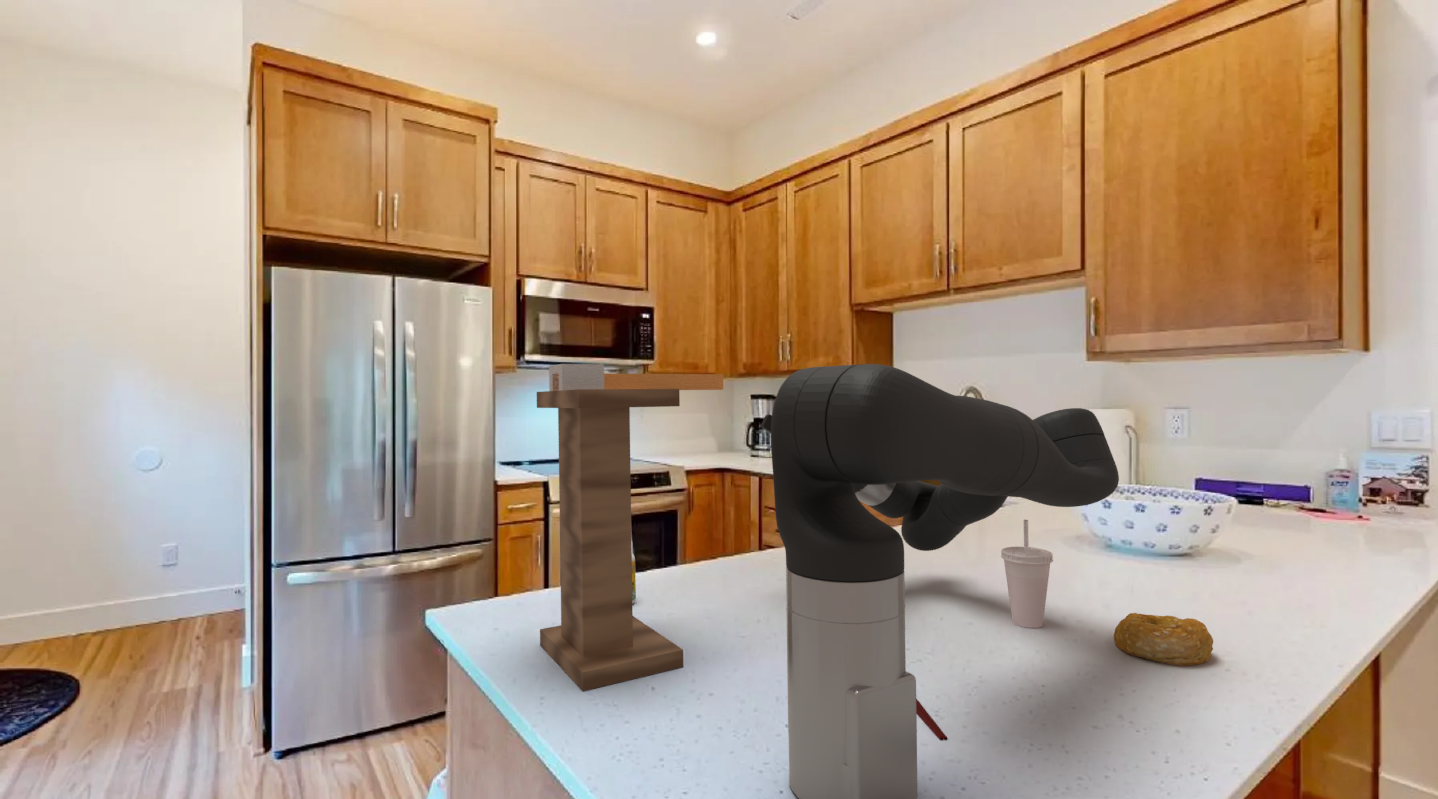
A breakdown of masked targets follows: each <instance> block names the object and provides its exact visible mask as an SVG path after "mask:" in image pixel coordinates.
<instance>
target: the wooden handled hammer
mask: <svg viewBox="0 0 1438 799" xmlns="http://www.w3.org/2000/svg"><path fill="white" fill-rule="evenodd" d="M548 376H549V377H548V378H549V379H548V385H549V386H548V389H549V390H548V391H561V390H577V389H679V391H720V390H721V391H724V374H720V373H719V374H717V373H715V374H713V373H711V374H708V373H707V374H705V373H702V374H701V373H699V374H697V373H605V364H603V363H602V364H599V363H598V364H597V363H596V364H595V363H594V364H591V363H590V364H589V363H560V364H553V365H549V366H548Z"/></svg>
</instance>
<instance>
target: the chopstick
mask: <svg viewBox="0 0 1438 799" xmlns="http://www.w3.org/2000/svg"><path fill="white" fill-rule="evenodd" d="M916 716H917V717H919V718H920V720H921V721H923V723H924V724H925V725H926V726H927V727H928V729H929V730H931V731H932V733H933V734H934V735H935V736H936V737H937V739H939V740H940V741H943V740H945V741H948V737H947V735H946V734H945V733H944V732H943V730H942V729H941V728H940V727H939V725H938V724H937V723H936V721H935V720H934V719H933V718H932V716H931V715H930V713H929V712H928V711H927V710H926V709H925V708H924V706H923V705H922V704H921V702H920V701H919V700H918V699H917V698H916Z"/></svg>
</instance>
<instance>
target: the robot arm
mask: <svg viewBox="0 0 1438 799" xmlns="http://www.w3.org/2000/svg"><path fill="white" fill-rule="evenodd" d="M760 426H761V428H762V429H763V430H765V431H766V432H768V433H769V434H770V447H771V464H772V467H771V468H772V477H773V478H772V479H773V480H772V481H773V490H774V491H773V492H774V508H775V510H774V512H775V520H776V526H777V531H778V533H779V537H780V538H781V540H782V544H783V546H784V551H785V565H786V567H785V573H786V574H785V577H786V579H785V581H786V582H785V583H786V584H785V586H786V595H785V596H786V655H787V656H786V657H787V659H786V662H787V664H786V667H787V670H786V673H787V676H786V678H787V728H788V730H787V731H788V732H787V733H788V768H789V770H788V773H789V774H788V776H789V777H788V778H789V779H788V780H789V785H790V788H791V790H792V792H793V793H794V795H795V796H796V798H798V799H919V798H918V796H919V795H918V793H919V791H918V739H917V738H918V735H917V734H918V733H917V732H918V730H917V728H918V726H917V717H918V716H917V714H916V699H917V678H916V676H915V675H914V674H913V673H910V672H909V671H907V669H906V666H907V664H906V663H907V662H906V614H905V613H906V610H905V609H906V600H905V599H906V597H905V596H906V594H905V590H906V589H905V586H906V585H905V582H906V581H905V545H904V542H905V543H906V544H907V545H908V546H909V547H911V548H913V549H914V550H916V551H917V550H918V551H923V552H929V551H930V552H931V551H936V550H939V549H941V548H944V547H945V546H947V545H948V544H949V543H950V542H951V541H953V540H954V539H955V538H956V537H957V536H958V535H959V534H960V533H961V532H962V531H963V530H964V529H965V528H966V527H967V526H968V525H971V524H974V523H977V522H979V521H982V520H984V519H987V518H989V517H991V516H992V515H994V514H995V513H996V512H997V511H999V510H1000V508H1002V506H1003V505H1004V503H1005V502H1006V500H1007V499H1008V497H1013V498H1014V497H1016V498H1021V499H1025V500H1029V501H1030V502H1031V501H1032V502H1034V503H1038V504H1042V505H1045V506H1051V507H1058V508H1059V507H1060V508H1076V507H1083V506H1088V505H1092V504H1095V503H1098V502H1100V501H1101V502H1102V500H1105V499H1106V498H1108V497H1110V496H1111V495H1112V494H1113V493H1114V492H1115V491H1116V490H1117V488H1118V486H1119V481H1120V475H1119V471H1118V467H1117V464H1116V461H1115V460H1114V455H1113V453H1112V451H1111V448H1110V446H1109V443H1108V440H1107V438H1106V434H1105V432H1104V430H1103V427H1102V425H1101V424H1100V421H1099V419H1098V418H1097V416H1096V415H1095V413H1094V412H1093V411H1090V410H1089V409H1086V408H1082V407H1081V408H1079V407H1077V408H1076V407H1075V408H1063V409H1059V410H1054V411H1052V412H1047V413H1045V414H1042V415H1040V416H1037V417H1035V418H1033V419H1032V418H1031V417H1030V416H1028V414H1025V413H1024V412H1022V411H1021V410H1019V409H1016V408H1015V407H1011V406H1008V405H1004V404H1002V403H999V402H994V401H991V400H987V399H983V398H982V399H981V398H977V397H973V396H966V395H955V394H952V393H949V392H947V391H945V390H943V389H941V388H939V387H937V386H935V385H933V384H931V383H929V382H926V381H924V380H923V379H921V378H919V377H917V376H915V375H913V374H911V373H909V372H907V371H905V370H902V369H899V368H897V367H893V366H890V365H885V364H878V363H864V364H863V363H861V364H845V365H831V366H830V365H827V366H814V367H806V368H802V369H799V370H796V371H795V372H793V373H792V374H790V375H789V376H788V377H787V378H786V379H785V380H784V381H783V382H782V384H781V385H780V388H778V392H777V394H776V397H775V400H774V403H773V408H772V414H765V416H764V417H763V420H762V422H761V424H760ZM924 481H938V482H939V483H940V484H939V485H936V484H932V483H927V482H924ZM862 503H863V504H865V505H867V506H868V507H870V508H872V509H873V510H875V511H876V512H878V513H879V514H881V515H882V516H884V517H886V518H889V519H899V518H902V522H901V527H900V532H901V533H900V532H898V531H897V530H896V529H895V528H894V527H893V526H890V525H889V524H887V523H886V522H884V521H883V520H881V519H879V518H877V517H876V516H875V515H874V514H872V513H871V512H870V511H869V510H868V508H867V507H865V505H863V504H862Z"/></svg>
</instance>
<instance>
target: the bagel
mask: <svg viewBox="0 0 1438 799" xmlns="http://www.w3.org/2000/svg"><path fill="white" fill-rule="evenodd" d="M1113 641H1114V644H1115V646H1116V647H1117V648H1119V649H1120V650H1121V651H1123V652H1125V653H1126V654H1129V656H1130V655H1131V656H1134V657H1139V658H1141V659H1142V658H1143V659H1146V660H1150V661H1153V662H1158V663H1161V664H1167V665H1171V666H1172V665H1173V666H1180V667H1181V666H1183V667H1186V666H1187V667H1188V666H1195V665H1201V664H1203V663H1206V662H1208V661H1209V659H1210V658H1211V657H1212V652H1213V650H1214V647H1213V645H1214V638H1213V636H1212V635H1211V633H1210V632H1209V630H1208V628H1207V627H1206V624H1204V622H1201V621H1200V620H1198V619H1196V618H1190V617H1187V618H1184V619H1183V618H1178V617H1176V616H1174V615H1155V614H1143V613H1137V612H1129V614H1127V615H1126V616H1125V617H1124V618H1123V619H1121V620H1120V621H1119V622H1118V624H1117V626H1116V627H1115V628H1114V632H1113Z"/></svg>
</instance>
